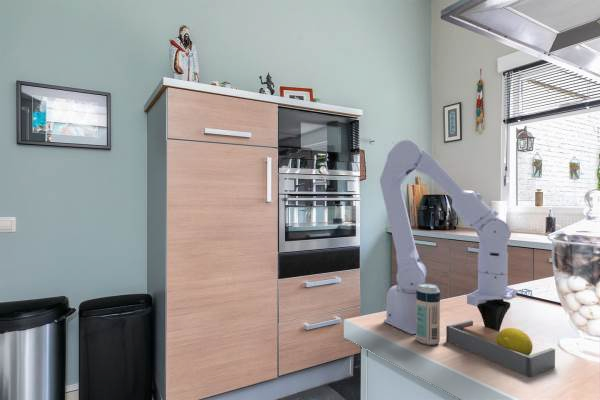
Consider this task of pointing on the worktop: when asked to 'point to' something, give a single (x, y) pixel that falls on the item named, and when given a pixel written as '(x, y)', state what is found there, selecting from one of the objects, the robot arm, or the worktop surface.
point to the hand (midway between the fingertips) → (492, 333)
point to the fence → (500, 351)
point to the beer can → (428, 314)
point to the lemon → (515, 340)
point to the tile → (482, 332)
